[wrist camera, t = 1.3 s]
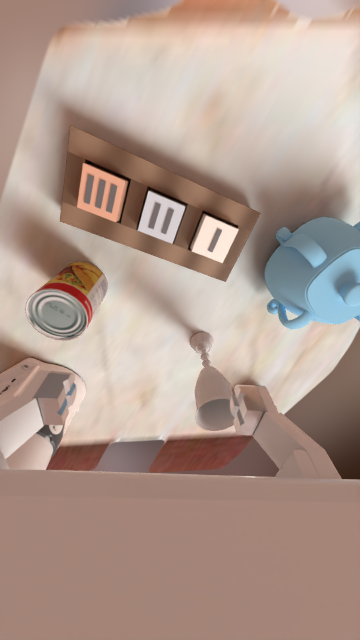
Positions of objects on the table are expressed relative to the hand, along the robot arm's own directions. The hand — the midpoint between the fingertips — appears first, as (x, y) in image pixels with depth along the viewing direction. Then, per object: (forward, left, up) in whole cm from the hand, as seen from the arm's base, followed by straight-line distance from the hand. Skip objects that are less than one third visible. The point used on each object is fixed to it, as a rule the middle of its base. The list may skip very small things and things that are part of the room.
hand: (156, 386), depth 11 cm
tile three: (-5, +10, -27) cm, 29 cm away
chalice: (+1, -21, -31) cm, 37 cm away
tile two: (+2, +5, -27) cm, 28 cm away
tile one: (+8, 0, -27) cm, 28 cm away
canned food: (-15, -1, -31) cm, 34 cm away
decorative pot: (+23, -11, -31) cm, 40 cm away
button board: (+2, +5, -30) cm, 31 cm away
